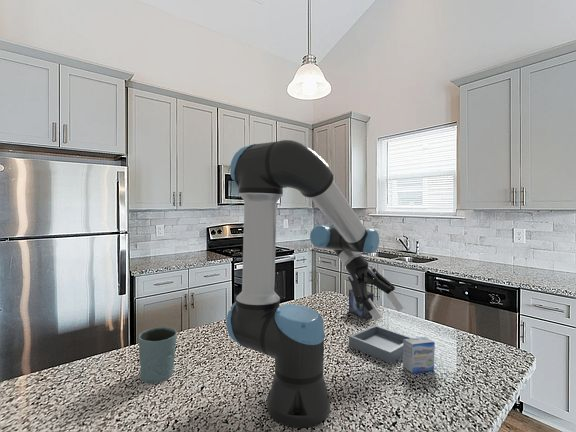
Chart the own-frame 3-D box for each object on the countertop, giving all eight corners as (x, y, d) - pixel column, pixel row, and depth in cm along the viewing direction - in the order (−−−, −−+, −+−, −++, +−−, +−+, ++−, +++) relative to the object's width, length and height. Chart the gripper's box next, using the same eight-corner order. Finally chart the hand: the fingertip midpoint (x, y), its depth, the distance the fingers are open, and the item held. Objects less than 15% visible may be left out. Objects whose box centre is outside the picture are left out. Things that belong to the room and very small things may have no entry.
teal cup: (140, 369, 93) (139, 329, 93) (176, 363, 97) (176, 324, 96) (136, 388, 84) (136, 343, 83) (177, 381, 87) (177, 338, 87)
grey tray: (390, 363, 98) (390, 352, 98) (348, 345, 110) (348, 336, 110) (415, 348, 109) (415, 338, 109) (375, 334, 121) (375, 324, 121)
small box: (347, 311, 146) (347, 289, 146) (358, 309, 149) (359, 287, 149) (361, 319, 137) (362, 295, 136) (373, 317, 139) (374, 293, 139)
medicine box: (411, 374, 92) (412, 344, 92) (402, 366, 97) (403, 338, 96) (434, 370, 94) (435, 342, 94) (424, 363, 99) (425, 335, 98)
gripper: (367, 263, 124) (402, 311, 113) (324, 272, 107) (360, 329, 97) (379, 251, 120) (417, 300, 109) (337, 258, 103) (376, 317, 93)
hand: (390, 314), depth 103 cm, fingers open, 13 cm apart
